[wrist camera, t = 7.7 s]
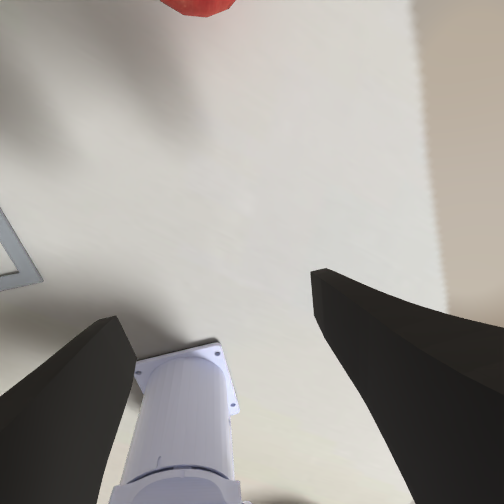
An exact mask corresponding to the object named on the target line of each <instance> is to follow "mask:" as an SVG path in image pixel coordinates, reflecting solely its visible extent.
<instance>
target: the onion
mask: <svg viewBox="0 0 504 504" xmlns="http://www.w3.org/2000/svg"><path fill="white" fill-rule="evenodd" d="M160 1H161V2H163V3H165V4H166V5H168V6H169V7H171V8H173V9H174V10H176V11H178V12H179V13H181V14H183V15H188V16H198V17H209V16H212V15H214V14H217V13H219V12H222V11H224V10H227V9H229V8H230V6H231V5H232V4H233V3H234V2H235V0H160Z"/></svg>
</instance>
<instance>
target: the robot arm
mask: <svg viewBox="0 0 504 504" xmlns="http://www.w3.org/2000/svg"><path fill="white" fill-rule="evenodd" d="M310 273H311V285H312V296H313V308H314V316H315V318H316V321H317V323H318V325H319V327H320V329H321V331H322V333H323V336H324V338H325V339H326V341H327V343H328V344H329V346H330V347H331V349H332V351H333V352H334V354H335V355H336V357H337V359H338V360H339V362H340V363H341V365H342V366H343V368H344V369H345V371H346V373H347V374H348V376H349V377H350V379H351V380H352V382H353V384H354V385H355V387H356V388H357V390H358V391H359V393H360V395H361V397H362V398H363V400H364V402H365V403H366V405H367V407H368V409H369V411H370V413H371V415H372V417H373V418H374V420H375V422H376V424H377V426H378V428H379V430H380V432H381V434H382V436H383V438H384V440H385V442H386V444H387V446H388V448H389V450H390V452H391V454H392V456H393V458H394V460H395V462H396V464H397V466H398V468H399V470H400V472H401V474H402V476H403V478H404V480H405V482H406V484H407V487H408V489H409V491H410V493H411V495H412V497H413V499H414V501H415V503H416V504H504V328H502V327H497V326H493V325H489V324H484V323H481V322H476V321H472V320H468V319H464V318H459V317H456V316H452V315H449V314H445V313H442V312H439V311H435V310H432V309H429V308H425V307H422V306H419V305H416V304H413V303H410V302H407V301H404V300H402V299H399V298H396V297H393V296H391V295H388V294H386V293H383V292H381V291H378V290H376V289H373V288H371V287H369V286H366V285H364V284H362V283H359V282H357V281H355V280H353V279H350V278H348V277H346V276H344V275H341V274H339V273H337V272H335V271H332V270H330V269H327V268H325V269H320V270H316V271H311V272H310ZM216 352H218V353H216ZM136 360H137V357H136V355H135V353H134V351H133V349H132V347H131V345H130V343H129V340H128V338H127V336H126V334H125V332H124V330H123V328H122V326H121V324H120V322H119V320H118V318H117V316H113V317H109V318H104V319H100V320H98V321H96V322H95V323H93V324H92V325H91V326H89V327H88V328H87V329H85V330H84V331H83V332H81V333H80V334H79V335H78V336H76V337H75V338H74V339H73V340H71V341H70V342H69V343H68V344H66V345H65V346H64V347H63V348H61V349H60V350H59V351H58V352H56V353H55V354H54V355H53V356H52V357H50V358H49V359H48V360H47V361H45V362H44V363H43V364H42V365H40V366H39V367H38V368H37V369H35V370H34V371H33V372H31V373H30V374H29V375H28V376H26V377H25V378H24V379H22V380H21V381H20V382H18V383H17V384H16V385H15V386H13V387H12V388H11V389H9V390H8V391H7V392H6V393H4V394H3V395H2V396H0V504H96V503H97V499H98V495H99V490H100V486H101V482H102V478H103V474H104V471H105V467H106V464H107V460H108V457H109V454H110V451H111V448H112V445H113V442H114V439H115V436H116V433H117V430H118V427H119V424H120V421H121V418H122V415H123V412H124V409H125V406H126V403H127V399H128V396H129V393H130V390H131V387H132V382H133V377H135V379H136V381H137V383H138V385H139V387H140V389H141V391H142V393H143V395H144V397H143V400H142V404H141V408H140V411H139V415H138V419H137V422H136V426H135V430H134V433H133V437H132V441H131V444H130V448H129V452H128V455H127V459H126V463H125V466H124V470H123V474H122V477H121V481H120V485H118V486H114V487H113V490H112V493H111V497H110V500H109V504H252V503H251V502H250V501H241V489H240V481H238V480H235V474H234V460H233V445H232V431H231V415H235V414H238V413H239V411H240V407H239V404H238V400H237V397H236V393H235V390H234V387H233V383H232V380H231V376H230V373H229V369H228V366H227V363H226V359H225V356H224V352H223V349H222V345H221V344H220V343H217V342H216V343H211V344H207V345H203V346H198V347H194V348H190V349H186V350H182V351H178V352H173V353H169V354H165V355H161V356H157V357H153V358H148V359H144V360H140V361H136ZM139 371H140V372H139Z"/></svg>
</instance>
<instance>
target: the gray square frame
mask: <svg viewBox="0 0 504 504" xmlns="http://www.w3.org/2000/svg"><path fill="white" fill-rule="evenodd" d="M0 242H1V244H2V246H3V247H4V249H5V250H6V252H7V254H8V255H9V257H10V258H11V260H12V262H13V263H14V265H15V266H16V268H17V270H18V271H19V273H14V274H10V275H5V276H0V291H3V290H8V289H13V288H17V287H22V286H27V285H31V284H36V283H41V282H43V279H42V277H41V276H40V274H39V272H38V271H37V269H36V267H35V266H34V264H33V262H32V261H31V259H30V257H29V255H28V254H27V252H26V250H25V249H24V247H23V245H22V244H21V242H20V240H19V239H18V237H17V235H16V234H15V232H14V230H13V229H12V227H11V225H10V223H9V222H8V220H7V218H6V217H5V215H4V213H3V212H2V210H1V208H0Z"/></svg>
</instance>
